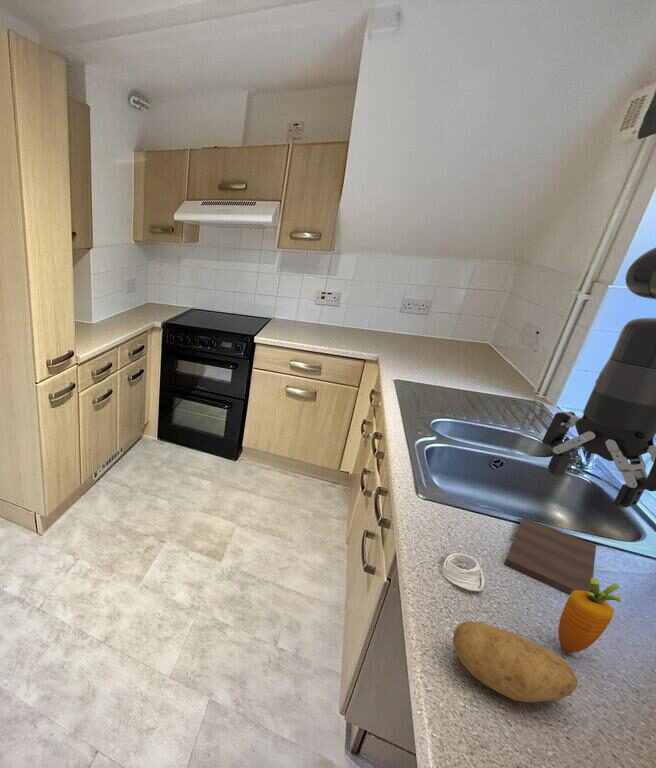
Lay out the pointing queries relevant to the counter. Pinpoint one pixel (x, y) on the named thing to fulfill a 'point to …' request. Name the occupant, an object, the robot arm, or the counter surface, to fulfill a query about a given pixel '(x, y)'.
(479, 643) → the potato
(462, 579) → the white string coil
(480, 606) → the counter surface
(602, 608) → the carrot
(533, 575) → the cutting board
